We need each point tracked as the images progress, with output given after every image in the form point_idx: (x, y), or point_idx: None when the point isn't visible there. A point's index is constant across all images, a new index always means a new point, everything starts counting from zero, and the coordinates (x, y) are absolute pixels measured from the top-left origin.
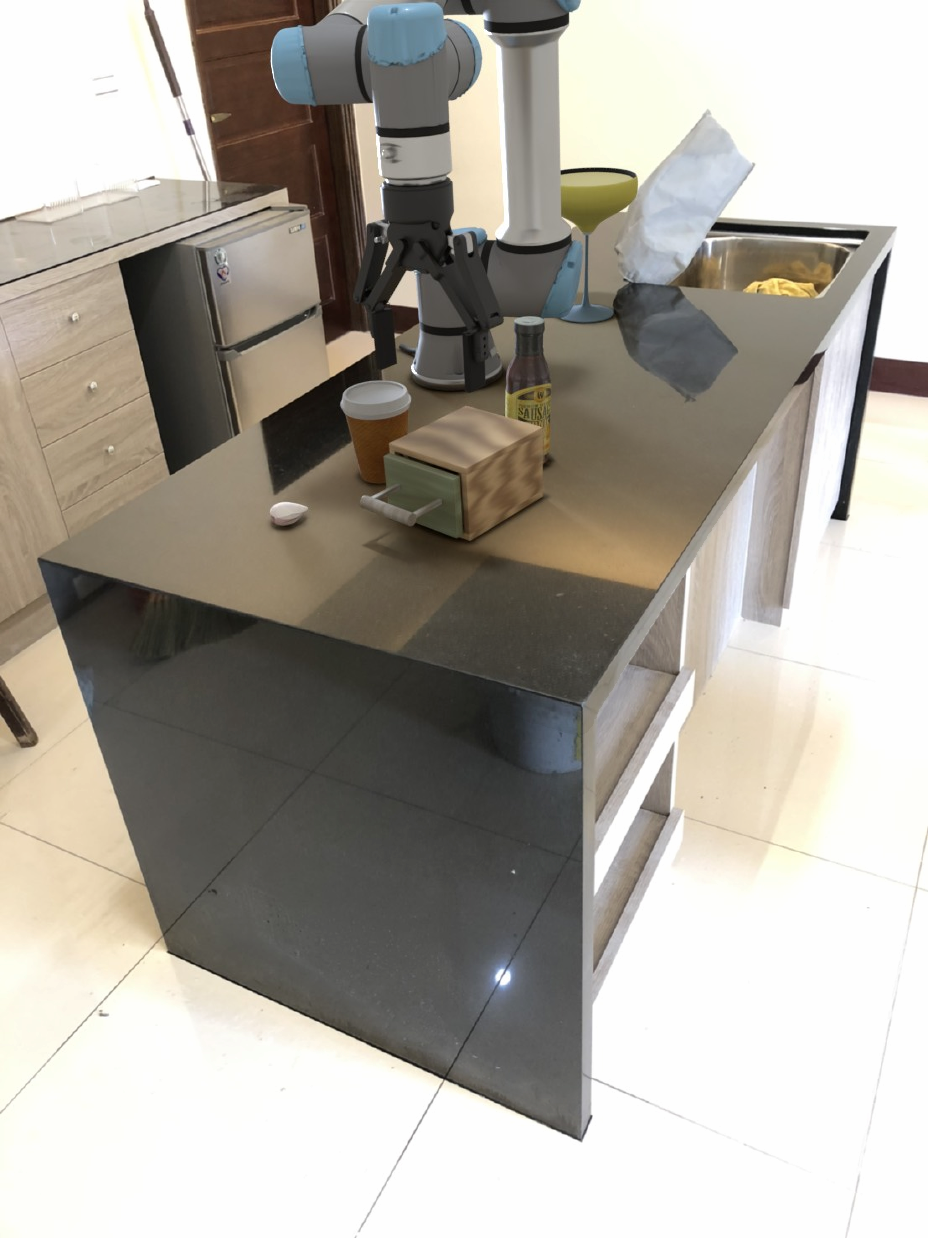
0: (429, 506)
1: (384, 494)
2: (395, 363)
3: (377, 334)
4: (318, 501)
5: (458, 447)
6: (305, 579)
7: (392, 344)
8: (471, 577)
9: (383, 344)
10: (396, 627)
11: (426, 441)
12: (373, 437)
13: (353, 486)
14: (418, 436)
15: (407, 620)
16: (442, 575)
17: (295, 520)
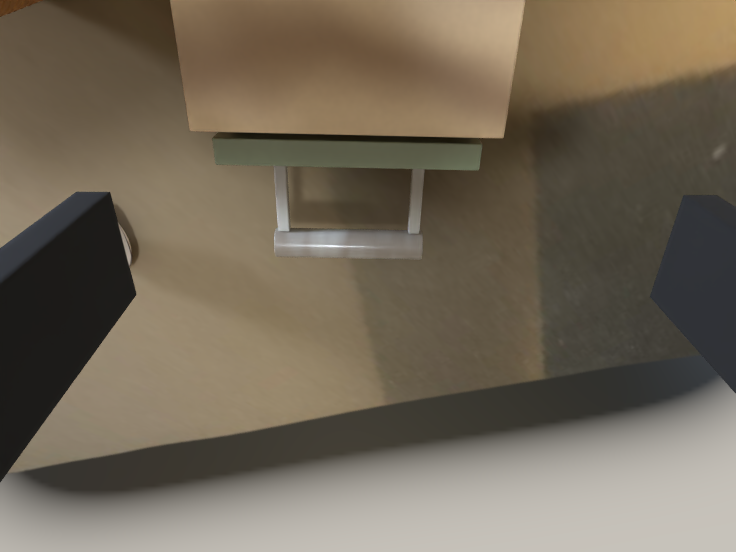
0: (421, 190)
1: (287, 197)
2: (111, 205)
3: (39, 419)
4: (63, 144)
5: (395, 29)
6: (303, 340)
7: (59, 263)
8: (540, 195)
9: (72, 342)
10: (510, 351)
11: (274, 52)
12: (10, 7)
13: (44, 36)
14: (220, 33)
15: (514, 333)
16: (489, 218)
17: (130, 248)
